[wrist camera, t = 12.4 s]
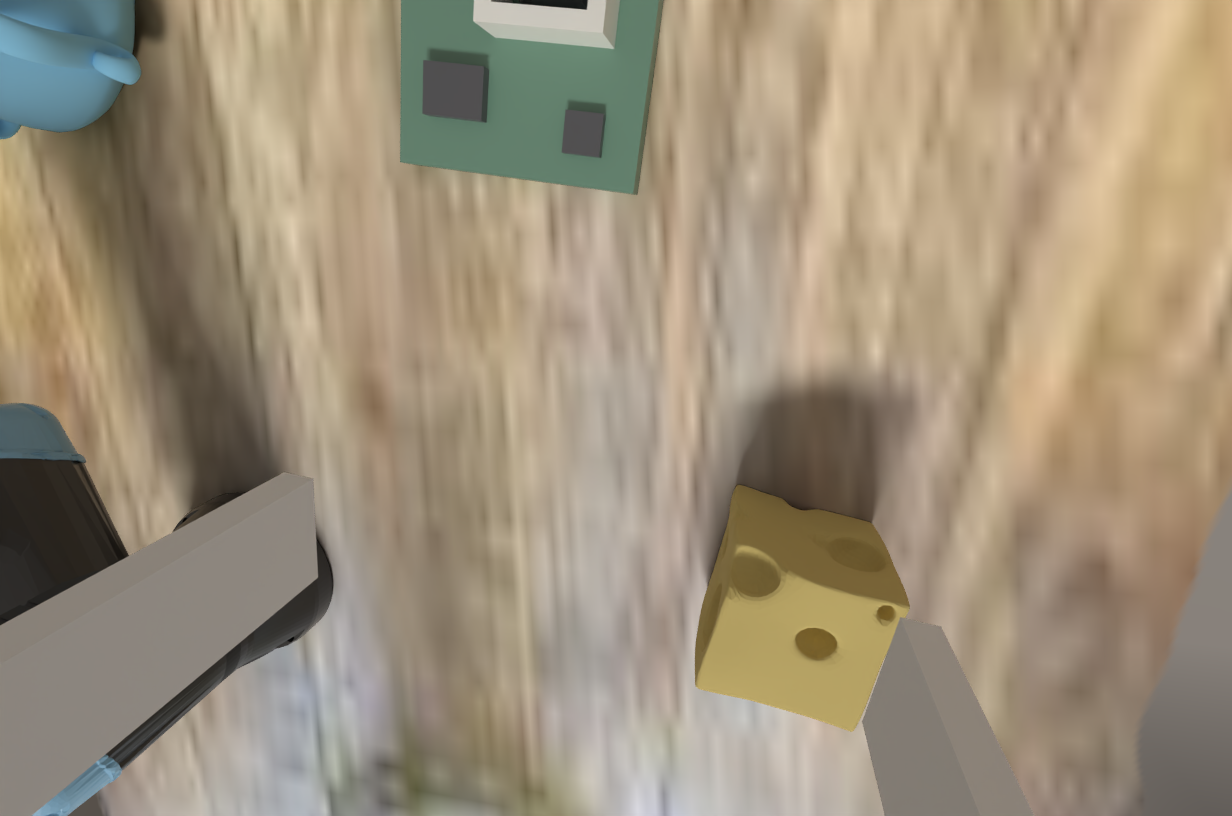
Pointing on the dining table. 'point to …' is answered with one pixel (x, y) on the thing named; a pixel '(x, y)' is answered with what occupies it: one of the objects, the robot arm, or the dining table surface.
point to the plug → (558, 3)
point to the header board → (529, 89)
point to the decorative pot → (63, 61)
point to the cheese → (798, 610)
